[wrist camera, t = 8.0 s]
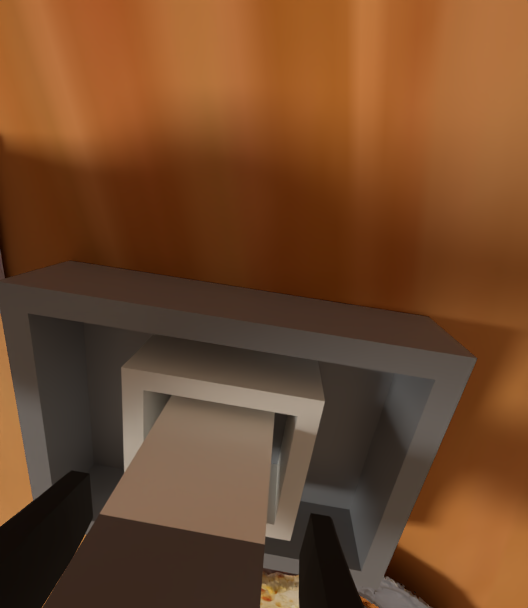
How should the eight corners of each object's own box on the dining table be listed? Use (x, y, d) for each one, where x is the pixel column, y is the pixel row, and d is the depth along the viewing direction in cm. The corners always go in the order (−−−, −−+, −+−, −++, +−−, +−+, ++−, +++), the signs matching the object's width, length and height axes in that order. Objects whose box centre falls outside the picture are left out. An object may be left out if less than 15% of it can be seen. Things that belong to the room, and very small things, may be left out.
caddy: (86, 462, 18) (34, 529, 14) (69, 260, 13) (-11, 282, 10) (360, 511, 17) (379, 594, 13) (428, 316, 13) (481, 361, 9)
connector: (186, 432, 15) (54, 728, 7) (190, 363, 14) (31, 626, 5) (265, 445, 15) (232, 766, 6) (277, 377, 14) (255, 670, 5)
